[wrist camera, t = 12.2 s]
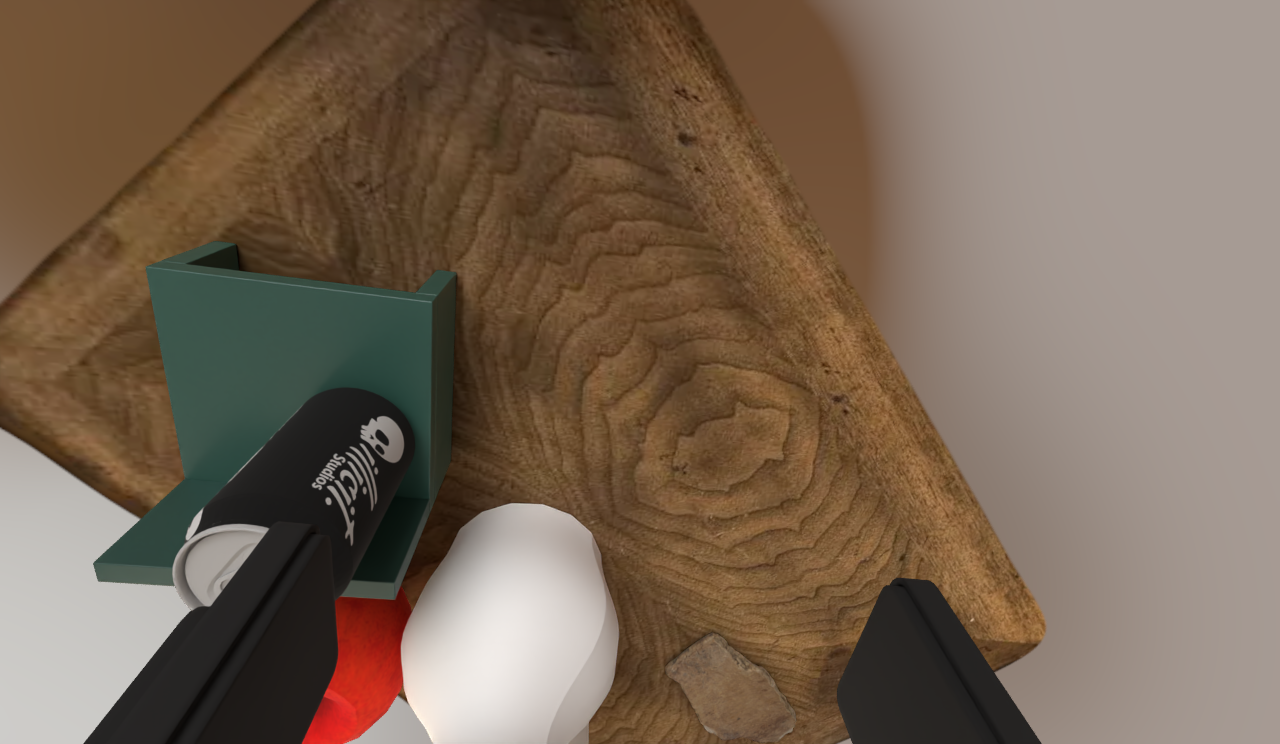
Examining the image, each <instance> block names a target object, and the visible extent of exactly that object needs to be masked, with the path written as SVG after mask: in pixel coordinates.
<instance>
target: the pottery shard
mask: <svg viewBox="0 0 1280 744" xmlns="http://www.w3.org/2000/svg"><path fill="white" fill-rule="evenodd" d="M665 672H666V674H667V675H668V676H669V677H670V678H671V679H673V680H675V681H676V682H678V683H680V685H681V687H682V689H683V691H684V693H685V695H686V697H687V698H688V699H689V701H690V702H691V706H692V707H693V708H694V709H695V712H696V715H697V716H698V720H699V721H700V723H701V724H703V727H704V729H705V730H706V731H708V733H713V734H715V735H717V736H718V737H719V738H720V739H721V740H732V739H736V738H739V737H744V738H748V739H752V740H753V741H757V742H761V743H766V742H778V741H780V739H781V738H782V737H783V736H784V735H786V734H787V733H790V732H792V730H793V727H794V726H795V722H796V715H795V711H794V709H793V708H792V707H791V706H790V705H789V703H788V702H787V699H786V697H785V696H784V695H783V694H782V693H780V692H779V690H778V688H777V686H776V684H775V682H774V680H773V679H772V677H771V676H770V674H769V673H768V672H767V671H766V670H765V669H764V668H763V667H761V666H760V667H758V666H757V665H755V664H753V663H751V662H750V661H749V660H747V659H746V658H745V657H744V656H742V654H740V653H739V652H737V651H735V650H734V649H733V648H732V647H731V646H728V643H727V641H726V640H725V639H724V638H723V637H721V636H720V635H718V634H714V633H713V632H712V633H710V634H708V635H706V636H704V637H702V638H701V639H700V640H698V641H697V642H696V643H694V644H693V645H691V646H690V647H689V648H687V649H686V650H684V651H683V652H682V653H681V654H680V655H678V656H677V657H676V658H675V659H673V660H672V661H671V662H670V663H668V664H667V665H666V666H665Z"/></svg>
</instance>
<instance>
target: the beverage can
mask: <svg viewBox="0 0 1280 744" xmlns="http://www.w3.org/2000/svg"><path fill="white" fill-rule="evenodd" d="M414 452H415V437H414V433H413V430H412V427H411V425H410V423H409V421H408V420H407V418H406V417H405V415H404V414H403V413H402V412H401V411H400V409H398V408H397V407H396V406H395V405H394V404H393V403H391V402H390V401H389V400H387V399H385V398H384V397H382V396H380V395H378V394H376V393H373V392H370V391H367V390H364V389H359V388H350V387H341V388H334V389H329V390H326V391H323V392H320V393H318V394H316V395H314V396H313V397H311V398H310V399H309V400H307V401H306V402H305V403H304V404H303V405H302V406H301V407H300V408H299V409H298V410H297V411H296V412H295V413H294V414H293V416H292V417H291V418H290V419H289V420H288V421H287V422H286V423H285V424H284V425H283V426H282V427H281V428H280V429H279V430H278V431H277V432H276V433H275V434H274V435H273V436H272V437H271V438H270V439H269V440H268V441H267V442H266V443H265V444H264V446H263V447H262V448H261V449H260V450H259V451H258V452H257V453H256V454H255V455H254V456H253V457H252V458H251V459H250V460H249V461H248V462H247V463H246V464H245V465H244V466H243V467H242V468H241V469H240V470H239V471H238V472H237V473H236V474H235V475H234V477H233V478H232V479H231V480H230V481H229V482H228V483H227V484H226V485H225V486H224V487H223V488H222V489H221V490H220V491H219V492H218V493H217V494H216V495H215V496H214V497H213V498H212V499H211V500H210V501H209V502H208V503H207V504H206V505H205V506H204V508H203V509H202V510H201V511H200V512H199V513H198V514H197V515H196V516H195V517H194V519H193V520H192V522H191V523H190V525H189V527H188V530H187V533H186V537H185V541H184V546H183V547H182V548H181V549H180V551H179V552H178V554H177V556H176V557H175V560H174V564H173V573H172V575H173V582H174V585H175V588H176V590H177V592H178V594H179V596H180V597H181V599H182V600H183V602H184V603H185V604H186V605H187V606H188V608H189V609H190V610H191V611H192V610H194V609H195V608H197V607H200V606H211V605H212V604H213V602H214V601H215V600H216V598H217V597H218V596H219V594H220V593H221V592H222V590H223V589H224V588H225V586H226V585H227V584H228V582H229V581H230V580H231V579H232V577H233V576H234V575H235V573H236V572H237V571H238V569H239V568H240V567H241V565H242V564H243V563H244V561H245V560H246V559H247V557H248V556H249V555H250V553H251V552H252V551H253V550H254V548H255V547H256V546H257V544H258V543H259V542H260V540H261V539H262V538H263V536H264V535H265V534H266V532H267V531H268V530H269V528H270V527H271V526H272V525H273V524H274V523H276V522H278V521H281V522H292V523H303V524H314V525H318V527H319V528H320V533H321V535H328V536H329V537H330V539H331V549H332V564H333V578H334V593H335V601H336V600H337V599H338V598H339V597H340V596H341V595H342V594H343V593H344V591H345V590H346V588H347V587H348V585H349V583H350V581H351V579H352V577H353V575H354V573H355V571H356V569H357V567H358V565H359V563H360V562H361V560H362V558H363V556H364V554H365V552H366V550H367V548H368V546H369V544H370V542H371V540H372V538H373V536H374V534H375V532H376V530H377V528H378V526H379V524H380V522H381V520H382V519H383V517H384V515H385V513H386V511H387V509H388V507H389V505H390V503H391V501H392V499H393V497H394V495H395V493H396V491H397V489H398V487H399V485H400V483H401V481H402V479H403V478H404V476H405V474H406V472H407V470H408V468H409V466H410V464H411V462H412V459H413V457H414Z"/></svg>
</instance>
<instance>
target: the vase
mask: <svg viewBox="0 0 1280 744" xmlns="http://www.w3.org/2000/svg"><path fill="white" fill-rule="evenodd" d="M618 640H619V627H618V620H617V615H616V611H615V607H614V604H613V601H612V598H611V595H610V592H609V589H608V587H607V584H606V581H605V577H604V574H603V569H602V561H601V553H600V551H599V549H598V546H597V544H596V542H595V539H594V537H593V535H592V533H591V532H590V531H589V530H588V529H587V528H586V527H584V526H583V525H582V524H581V523H580V522H579V521H578V520H576V519H575V518H574V517H573V516H572V515H570V514H567V513H565V512H562V511H560V510H557V509H554V508H552V507H549V506H546V505H544V504H522V503H510V504H507V505H503V506H500V507H497V508H493V509H490V510H486V511H483V512H481V513H480V514H478V515H477V516H476V517H475V518H473V519H472V520H471V521H469V522H468V523H467V524H466V525H464V526H463V527H462V528H460V530H459V532H458V534H457V536H456V538H455V540H454V542H453V544H452V546H451V548H450V550H449V552H448V554H447V555H446V556H445V558H444V559H443V560H442V562H441V563H440V564H439V566H438V567H437V569H436V570H435V571H434V573H433V574H432V576H431V577H430V579H429V580H428V582H427V584H426V586H425V587H424V589H423V591H422V593H421V595H420V597H419V599H418V601H417V603H416V605H415V607H414V609H413V611H412V613H411V615H410V617H409V619H408V622H407V624H406V627H405V629H404V632H403V637H402V642H401V662H402V672H403V682H404V690H405V694H406V697H407V700H408V703H409V705H410V706H411V708H412V709H413V711H414V713H415V714H416V716H417V717H418V719H419V720H420V722H421V723H422V724H423V726H424V727H425V728H426V730H427V732H428V734H429V737H430V739H431V741H432V743H433V744H568V743H569V742H570V741H571V740H572V739H573V738H574V737H575V736H576V735H577V734H578V733H579V732H580V731H581V730H582V729H583V728H584V727H585V726H586V725H587V724H588V722H589V721H590V719H591V718H592V717H593V715H594V714H595V712H596V711H597V710H598V708H599V707H600V705H601V704H602V702H603V701H604V699H605V698H606V696H607V694H608V693H609V691H610V689H611V686H612V683H613V680H614V675H615V667H616V658H617V649H618Z"/></svg>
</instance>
